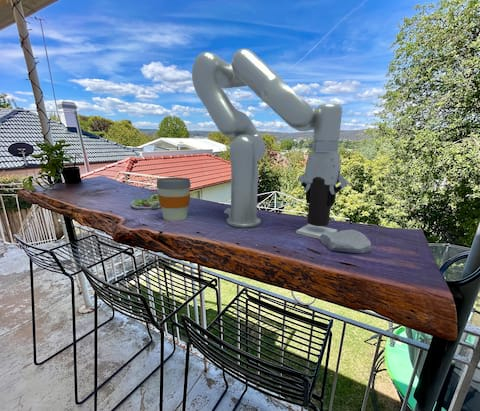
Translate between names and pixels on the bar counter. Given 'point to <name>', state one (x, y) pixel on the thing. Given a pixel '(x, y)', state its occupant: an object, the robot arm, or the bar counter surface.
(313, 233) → the tile
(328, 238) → the stone block
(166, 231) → the bar counter surface
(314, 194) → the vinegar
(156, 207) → the salad plate
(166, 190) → the reusable coffee cup
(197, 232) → the bar counter surface
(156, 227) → the bar counter surface
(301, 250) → the bar counter surface
